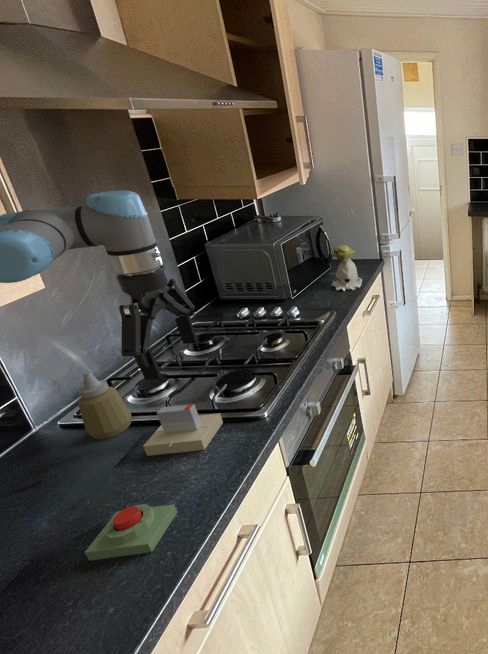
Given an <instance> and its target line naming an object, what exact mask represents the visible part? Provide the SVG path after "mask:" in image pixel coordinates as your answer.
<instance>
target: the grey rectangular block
mask: <svg viewBox="0 0 488 654" xmlns="http://www.w3.org/2000/svg"><path fill="white" fill-rule="evenodd" d="M199 415H200V414H199V412H198V410H197V407H196V404H195V403H188V404H183V405H182V404H181V405H173V406H162V407H160V408H159V409H158V411H157V412H156V416H157V418H158V420H159V423H160V426H161V425H162V428H163V430H164V433H171V432H181V431H191V430H197V429H198V428H199V427H200V425H201V421H200V418H199Z"/></svg>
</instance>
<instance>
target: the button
mask: <svg viewBox="0 0 488 654" xmlns="http://www.w3.org/2000/svg"><path fill="white" fill-rule="evenodd" d="M119 511H120V512H119V513H118V514H117V515H116V516H115V517H114V519H113V523H114V525H115V527H116V529H117V530H118V531H124V530H126V529H128V528H131V527H133V526H134V525H135V524H136V523H138V522H139V521H140V519H141V517H142V514H141V512H140V510H139V508H138V507H136V506H135V505H133V506H128V507H126V508H124V509H121V510H119Z"/></svg>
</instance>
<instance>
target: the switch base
mask: <svg viewBox="0 0 488 654" xmlns="http://www.w3.org/2000/svg"><path fill="white" fill-rule="evenodd" d="M198 415H199V418H200V421H201V425H200V427H199V428H198V429H197V430H191V431H181V432H171V433H164V430H163V428H162V425H161V424H160V426H159V427H158V428H157V429H156V431H154V433H152V435H151V436H150V438H149V439H147V441H146V442H145V443H144V444H143V449H144V452H145V454H146V457H150V456H160V455H168V454H178V453H188V452H197V451H205V450H206V449H207V447H208V446H209V444H210V443H211V442H212V440H213V438H214V437H215V435H216V434H217V433H218V431H219V430H220V428H221V427H222V425H223V423H224V421H223V418H222V415H221V413H220V412H219V413H209V414H198Z"/></svg>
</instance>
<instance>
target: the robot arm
mask: <svg viewBox="0 0 488 654" xmlns="http://www.w3.org/2000/svg"><path fill="white" fill-rule="evenodd" d="M148 215H149V214H148V212H147V211H146V208H145V206H144V204H143V201H142V200H141V196H140V195H139V194H138V193H136V192H134V191H132V190H110V191H102V192H96V193H92V194H89V195H88V196H87V197H86V205H81V206H73V207H72V206H70V207H59V208H46V209H34V210H33V209H32V210H31V209H24V210H21V211H14V212H6V213H3V214H0V283H1V284H14V283H20V282H23V281H26V280H28V279H31V278H32V277H35V276H37V275H39V274H41V273H42V272H44V271H45V270H46V269H48V267H49V266H50V265H51V264H52V263H53V262H55V260H57V259H58V258H59V257H61V256H62V255H63V254H64V253H66V252H67V251H68V250H77V249H84V248H90V247H91V248H92V247H98V246H103V247H104V249H105V252H106V254H107V257H108V259H109V262H110V265H111V268H112V270H113V272H114V273H115V274H117V275H116V279H117V282H118V284H119V287H120V289H121V292H123V293H124V294H126V295H128V296H129V297H130V303H128V304H120V305H119V306H118V310H119V314H120V317H121V356H122V357H125V358H126V357H134V360H135V362H136V365H137V368H138V369H140V371H141V374H142V376H143V378H144V380H145V381H146V380H147V381H148V380H159V379H161V378H162V377H163V376H162V373H161V371H160V368H159V365H158V362H157V359H156V357H155V354H154V352H153V349H151V348H149V344H150V337H151V332H152V326H153V320H155V319H156V318H157V314H158V313H159V312H160V311H161V310H166V311H168V312H169V313H171V314H172V315H174V316H175V317H176V318H175V319H174V322H175V324H176V326H177V330H178V333H179V336H180V339H181V341H182V344H183V345H189V344H190V345H191V344H197V343H198V340H199V339H198V337H197V335H196V331H195V329H194V324H193V322H192V318H191V317H193V316H195V314H196V313H195V311H194V310H195V305H194V304H193V302H192V301H191V300H190V299H189V297H187V295H186V294H185V293H184V292H183V291H182V289H181V288H180V287H179V285H178V283H177V281H176V279H175V278H169V275H168V272H167V269H166V267H165V266H163V263H164V261H163V258H162V255H161V252H160V250H159V248H158V243H157V241H156V238H155V235H154V232H153V228H152V224H151V221H150V219H149V216H148Z"/></svg>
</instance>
